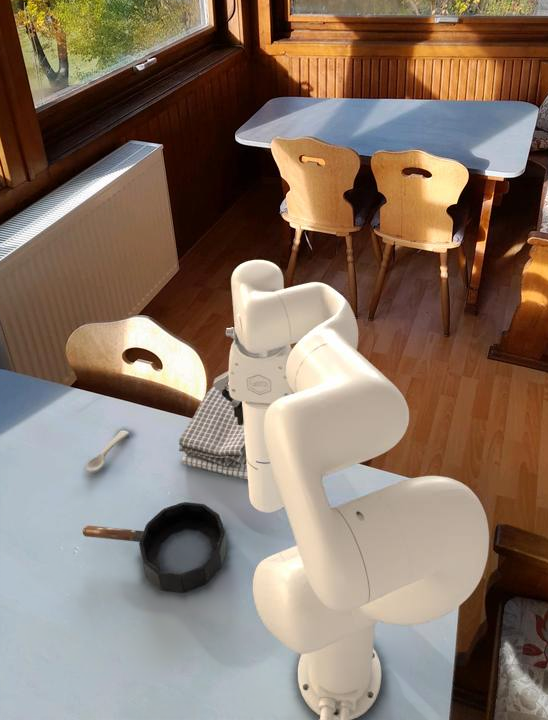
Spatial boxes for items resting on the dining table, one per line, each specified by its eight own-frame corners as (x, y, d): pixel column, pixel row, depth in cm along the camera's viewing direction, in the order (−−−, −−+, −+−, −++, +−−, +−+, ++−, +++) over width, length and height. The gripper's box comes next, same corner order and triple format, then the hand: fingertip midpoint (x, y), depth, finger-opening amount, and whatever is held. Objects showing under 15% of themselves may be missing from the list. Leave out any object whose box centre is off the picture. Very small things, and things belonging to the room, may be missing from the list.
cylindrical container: (283, 515, 116) (279, 412, 103) (244, 508, 117) (235, 405, 104) (293, 482, 122) (290, 380, 109) (256, 475, 123) (249, 374, 110)
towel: (278, 418, 145) (277, 391, 141) (246, 484, 130) (244, 457, 126) (215, 403, 149) (212, 377, 145) (176, 466, 134) (172, 439, 130)
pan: (214, 596, 111) (212, 580, 109) (69, 580, 113) (64, 564, 111) (233, 522, 123) (231, 506, 121) (102, 509, 125) (98, 493, 123)
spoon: (83, 473, 132) (82, 465, 131) (120, 433, 142) (119, 426, 141) (95, 477, 131) (94, 470, 130) (132, 437, 141) (131, 430, 140)
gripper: (197, 349, 98) (208, 433, 107) (314, 358, 97) (314, 443, 106) (210, 318, 105) (219, 400, 114) (320, 326, 103) (320, 408, 112)
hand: (265, 420), depth 110 cm, fingers closed on cylindrical container, 7 cm apart
